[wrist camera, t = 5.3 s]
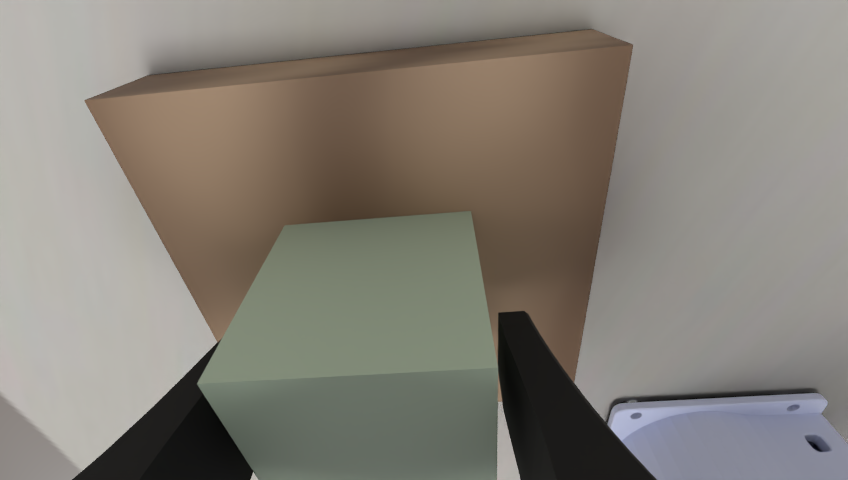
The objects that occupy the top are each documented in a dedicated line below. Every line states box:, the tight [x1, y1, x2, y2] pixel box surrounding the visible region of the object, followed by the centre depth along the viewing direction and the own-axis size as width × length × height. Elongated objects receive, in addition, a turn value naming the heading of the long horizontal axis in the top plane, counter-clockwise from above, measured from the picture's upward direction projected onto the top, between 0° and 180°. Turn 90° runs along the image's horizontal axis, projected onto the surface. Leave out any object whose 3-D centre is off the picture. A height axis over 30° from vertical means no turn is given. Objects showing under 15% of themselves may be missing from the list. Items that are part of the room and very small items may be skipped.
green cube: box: [197, 211, 498, 480], centre depth 10 cm, size 5×5×5 cm
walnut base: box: [84, 29, 633, 402], centre depth 13 cm, size 12×12×2 cm
